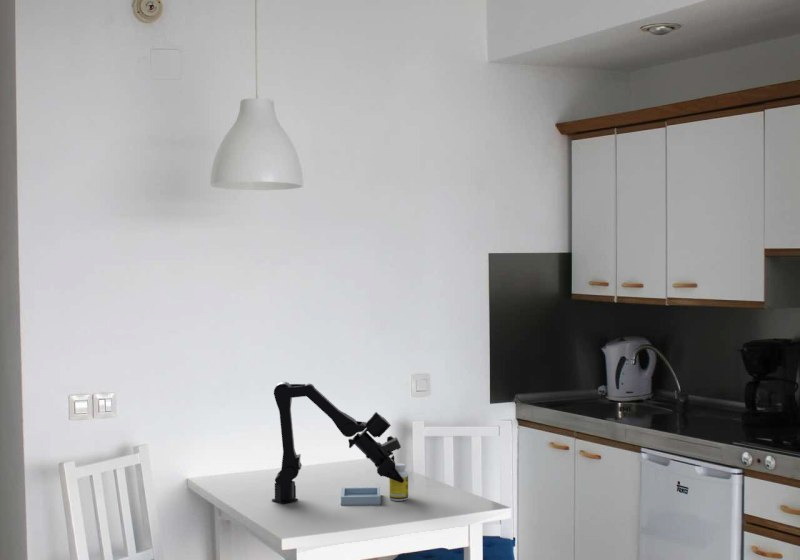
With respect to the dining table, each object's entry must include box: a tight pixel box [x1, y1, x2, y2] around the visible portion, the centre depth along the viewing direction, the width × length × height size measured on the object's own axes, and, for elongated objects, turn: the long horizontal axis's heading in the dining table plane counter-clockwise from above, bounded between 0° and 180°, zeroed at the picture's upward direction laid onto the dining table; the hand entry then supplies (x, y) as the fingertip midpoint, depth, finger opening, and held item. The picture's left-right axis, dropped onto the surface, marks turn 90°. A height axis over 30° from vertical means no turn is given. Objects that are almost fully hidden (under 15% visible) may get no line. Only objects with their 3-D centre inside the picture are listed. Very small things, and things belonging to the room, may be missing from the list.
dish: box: [340, 486, 381, 506], centre depth 308 cm, size 13×13×3 cm
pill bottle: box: [388, 462, 409, 502], centre depth 308 cm, size 6×6×12 cm
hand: (402, 479), depth 308 cm, fingers closed on pill bottle, 6 cm apart
